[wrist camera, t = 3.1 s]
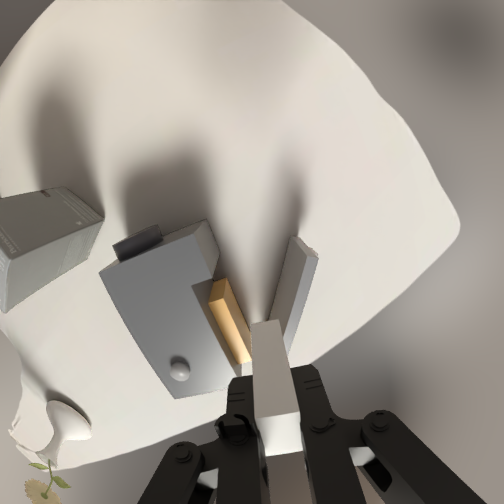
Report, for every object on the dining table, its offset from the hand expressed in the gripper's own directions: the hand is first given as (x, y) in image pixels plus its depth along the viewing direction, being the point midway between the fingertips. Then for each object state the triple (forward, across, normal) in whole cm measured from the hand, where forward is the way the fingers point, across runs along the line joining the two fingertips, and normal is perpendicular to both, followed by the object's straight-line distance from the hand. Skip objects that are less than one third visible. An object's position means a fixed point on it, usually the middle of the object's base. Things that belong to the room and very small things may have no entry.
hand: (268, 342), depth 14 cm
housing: (+17, -7, -3) cm, 18 cm away
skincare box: (+17, -22, +8) cm, 29 cm away
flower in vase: (+17, -43, -28) cm, 54 cm away
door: (+16, +3, -4) cm, 17 cm away
